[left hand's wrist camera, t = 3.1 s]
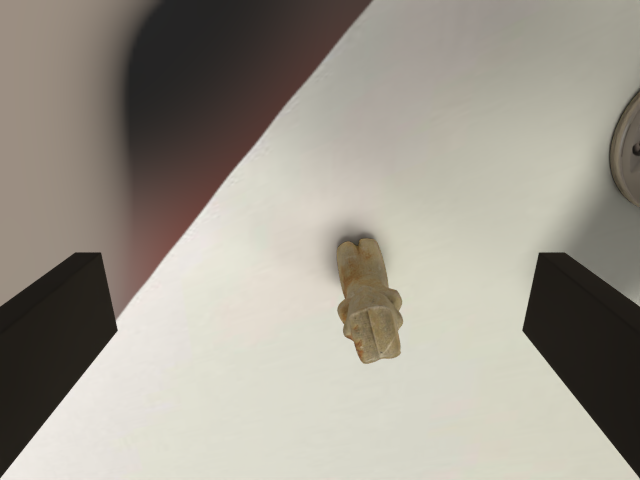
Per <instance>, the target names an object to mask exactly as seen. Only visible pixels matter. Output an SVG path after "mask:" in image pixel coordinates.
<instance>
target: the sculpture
mask: <svg viewBox="0 0 640 480" xmlns="http://www.w3.org/2000/svg"><path fill="white" fill-rule="evenodd" d="M337 263H338V270H339V277H340V282H341V286H342V291H343V294H344V297H345V299H344V300H343V301H342V302H341V303H340V304H339V306H338V309H337V311H338V314H339V317H340V319H341V320H342V322H343V324H344V327H343V333H344V336H345V337H347V338H349V339H351V340H353V341H354V343H355V347H356V351H357V353H358V356H359V358H360V360H361V361H362V362H363V363H364V364H369V363H372V362H375V361H377V360H379V359H383V358H386V359H389V358H395V357H397V356H399V355H400V353H401V352H400V340H399V335H398V330H399V328H400V327H401V326H402V324H403V319H402V316H401V314H400V312H399V309H400V308H401V305H402V299H401V297H400V295H399V293H398V291H397V290H393V289H390V288H388V279H387V273H386V269H385V265H384V261H383V257H382V254H381V251H380V248H379V245H378V243H377V241H375V240H374V239H360V241H359V244H358V246H356V245H354V244H353V243H351V242H349V241H347V242H344V243H342V244H341V245H339V247H338V249H337Z"/></svg>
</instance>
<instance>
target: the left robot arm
mask: <svg viewBox="0 0 640 480" xmlns="http://www.w3.org/2000/svg"><path fill="white" fill-rule="evenodd" d="M610 164H611V171H612V175H613V178H614V181H615V183H616V185H617V187H618V189H619V190H620V192H621V193H622V194H623V195H624V196H625V197H626V198H627V199H628V200H629V201H630V202H632V203H633V204H635V205H637V206H638V207H640V91H639V92H638V94H637V95H636V96H635V97H634V98H633V99H632V101H631V102H630V104H629V105H628V106H627V108H626V110H625V111H624V113H623V115H622V116H621V118H620V120H619V122H618V125H617V127H616V130H615V133H614V136H613V140H612V144H611V152H610ZM117 331H118V330H117V325H116V321H115V316H114V311H113V307H112V302H111V297H110V293H109V288H108V283H107V278H106V274H105V269H104V265H103V260H102V255H101V253H74V254H73V255H71V256H70V257H69V258H67V259H66V260H64V261H63V262H62V263H60V264H59V265H57V266H56V267H55V268H53V269H52V270H51V271H49V272H48V273H46V274H45V275H44V276H42V277H41V278H40V279H38V280H37V281H35V282H34V283H33V284H31V285H30V286H28V287H27V288H26V289H24V290H23V291H21V292H20V293H19V294H17V295H16V296H15V297H13V298H12V299H10V300H9V301H8V302H6V303H5V304H3V305H2V306H1V307H0V478H1V477H2V475H3V474H4V473H5V472H6V470H7V469H8V468H9V467H10V465H11V464H12V463H13V462H14V460H15V459H16V458H17V457H18V455H19V454H20V453H21V451H22V450H23V449H24V448H25V446H26V445H27V444H28V443H29V441H30V440H31V439H32V438H33V436H34V435H35V434H36V433H37V431H38V430H39V429H40V428H41V426H42V425H43V424H44V423H45V421H46V420H47V419H48V418H49V416H50V415H51V414H52V413H53V411H54V410H55V409H56V407H57V406H58V405H59V404H60V402H61V401H62V400H63V399H64V397H65V396H66V395H67V394H68V392H69V391H70V390H71V389H72V387H73V386H74V385H75V384H76V382H77V381H78V380H79V379H80V377H81V376H82V375H83V374H84V372H85V371H86V370H87V368H88V367H89V366H90V365H91V363H92V362H93V361H94V360H95V358H96V357H97V356H98V355H99V353H100V352H101V351H102V350H103V348H104V347H105V346H106V345H107V343H108V342H109V341H110V340H111V338H112V337H113V336H114V335H115V333H116V332H117ZM522 331H523V332H524V333H525V335H526V336H527V337H528V338H529V340H530V341H531V342H532V343H533V345H534V346H535V347H536V348H537V350H538V351H539V352H540V353H541V355H542V356H543V357H544V358H545V360H546V361H547V362H548V363H549V365H550V366H551V367H552V368H553V370H554V371H555V372H556V374H557V375H558V376H559V377H560V379H561V380H562V381H563V382H564V384H565V385H566V386H567V387H568V389H569V390H570V391H571V392H572V394H573V395H574V396H575V397H576V399H577V400H578V401H579V402H580V404H581V405H582V406H583V407H584V409H585V410H586V411H587V413H588V414H589V415H590V416H591V418H592V419H593V420H594V421H595V423H596V424H597V425H598V426H599V428H600V429H601V430H602V431H603V433H604V434H605V435H606V436H607V438H608V439H609V440H610V441H611V443H612V444H613V445H614V446H615V448H616V449H617V450H618V451H619V453H620V454H621V455H622V457H623V458H624V459H625V460H626V462H627V463H628V464H629V465H630V467H631V468H632V469H633V470H634V472H635V473H636V474H637V475H638V477H639V478H640V307H639V306H638V305H637V304H635V303H634V302H632V301H631V300H630V299H628V298H627V297H626V296H624V295H623V294H621V293H620V292H619V291H617V290H616V289H614V288H613V287H612V286H610V285H609V284H608V283H606V282H605V281H603V280H602V279H601V278H599V277H598V276H596V275H595V274H594V273H592V272H591V271H589V270H588V269H587V268H585V267H584V266H583V265H581V264H580V263H578V262H577V261H576V260H574V259H573V258H571V257H570V256H569V255H567V254H566V253H539V255H538V260H537V264H536V269H535V274H534V278H533V283H532V288H531V293H530V297H529V302H528V307H527V311H526V316H525V321H524V325H523V330H522Z"/></svg>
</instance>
